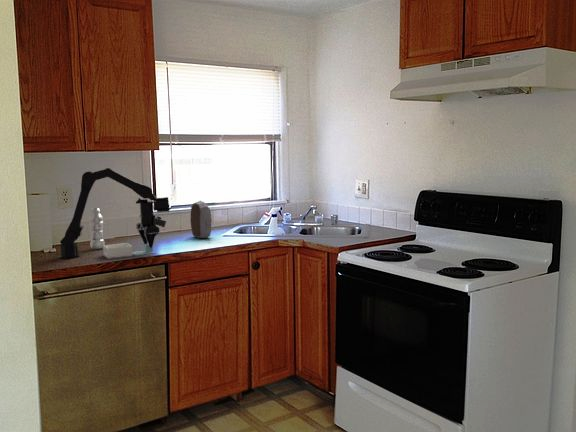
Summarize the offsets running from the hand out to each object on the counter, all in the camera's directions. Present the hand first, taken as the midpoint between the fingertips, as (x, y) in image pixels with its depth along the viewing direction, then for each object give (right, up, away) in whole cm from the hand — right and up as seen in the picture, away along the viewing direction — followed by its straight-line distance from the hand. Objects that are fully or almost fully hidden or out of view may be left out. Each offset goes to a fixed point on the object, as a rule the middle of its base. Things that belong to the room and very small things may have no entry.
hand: (148, 246), depth 258 cm
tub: (-12, -4, -6) cm, 14 cm away
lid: (-2, -4, -1) cm, 4 cm away
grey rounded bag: (+19, +2, +41) cm, 45 cm away
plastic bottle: (-27, -2, +11) cm, 30 cm away
